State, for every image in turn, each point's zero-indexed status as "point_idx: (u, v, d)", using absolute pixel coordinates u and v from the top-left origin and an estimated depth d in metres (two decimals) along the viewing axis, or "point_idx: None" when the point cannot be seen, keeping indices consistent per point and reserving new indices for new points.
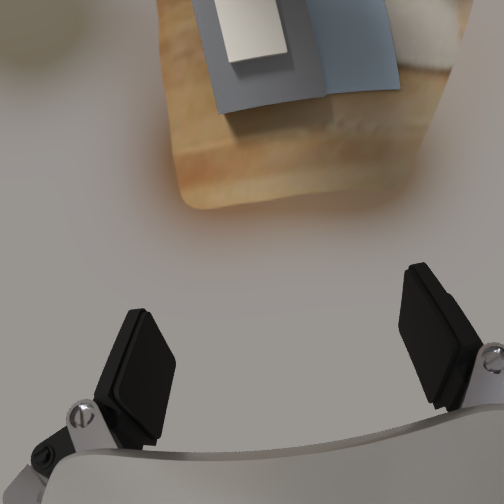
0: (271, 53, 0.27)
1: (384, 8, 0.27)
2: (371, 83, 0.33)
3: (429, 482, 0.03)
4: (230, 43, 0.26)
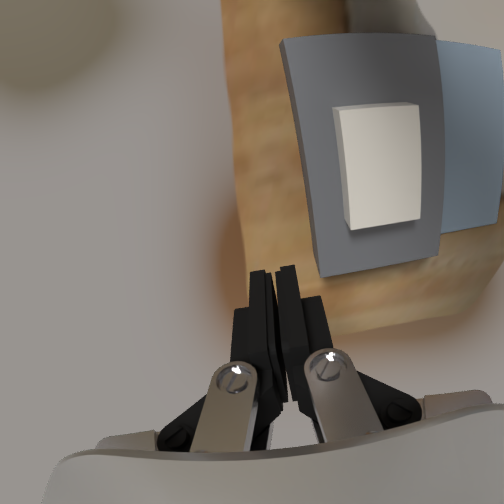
0: (402, 220, 0.22)
1: (503, 129, 0.22)
2: (473, 220, 0.28)
3: (429, 482, 0.03)
4: (356, 204, 0.22)
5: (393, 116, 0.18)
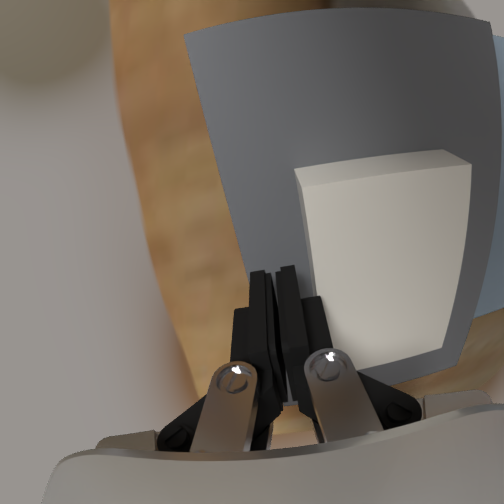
0: (413, 354, 0.13)
1: None
2: None
3: (429, 482, 0.03)
4: (335, 346, 0.12)
5: (421, 191, 0.09)
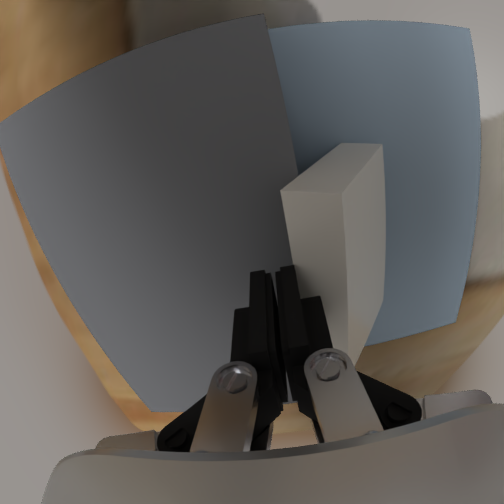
0: (375, 317, 0.16)
1: (477, 179, 0.14)
2: (411, 326, 0.20)
3: (429, 482, 0.03)
4: (352, 345, 0.12)
5: (373, 174, 0.11)
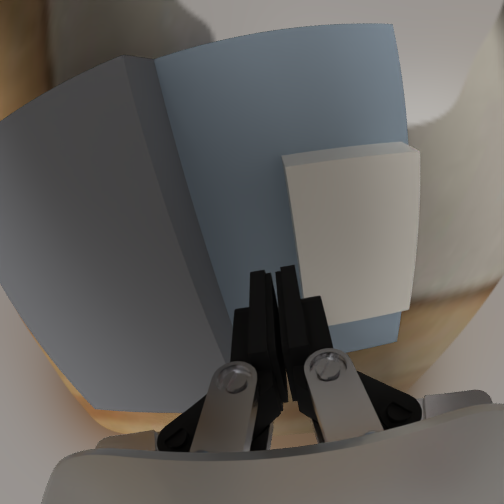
0: None
1: None
2: (343, 344, 0.20)
3: (429, 482, 0.03)
4: None
5: None
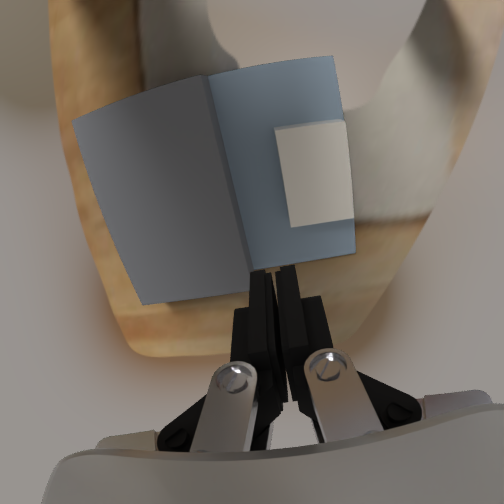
0: None
1: None
2: (318, 251, 0.32)
3: (429, 482, 0.03)
4: None
5: None
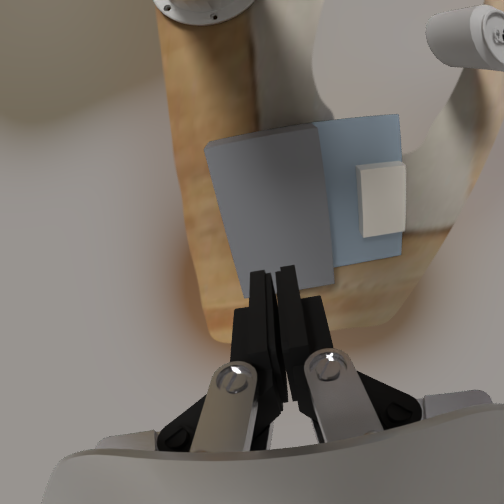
0: None
1: None
2: (375, 254, 0.42)
3: (429, 482, 0.03)
4: None
5: None
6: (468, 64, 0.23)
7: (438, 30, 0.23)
